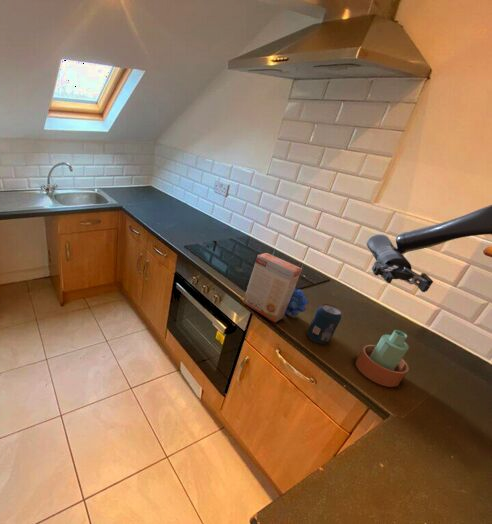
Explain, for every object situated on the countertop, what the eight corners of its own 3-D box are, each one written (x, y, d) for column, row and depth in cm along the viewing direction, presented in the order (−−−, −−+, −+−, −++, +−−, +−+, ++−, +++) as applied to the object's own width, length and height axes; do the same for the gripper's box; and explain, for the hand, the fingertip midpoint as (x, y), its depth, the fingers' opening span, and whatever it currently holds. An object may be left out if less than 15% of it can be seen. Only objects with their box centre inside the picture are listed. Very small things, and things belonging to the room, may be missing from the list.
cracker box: (283, 318, 109) (303, 268, 99) (274, 323, 106) (294, 272, 96) (251, 298, 119) (267, 251, 109) (241, 302, 115) (257, 254, 106)
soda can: (314, 329, 105) (327, 300, 100) (333, 341, 100) (348, 312, 95) (301, 334, 102) (314, 305, 96) (320, 347, 97) (335, 317, 91)
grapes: (271, 318, 108) (282, 290, 103) (268, 307, 114) (278, 280, 109) (305, 324, 107) (317, 296, 102) (299, 313, 113) (311, 286, 108)
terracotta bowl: (373, 356, 96) (381, 343, 93) (408, 383, 86) (418, 370, 84) (347, 360, 93) (354, 347, 90) (380, 389, 83) (390, 375, 81)
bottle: (375, 361, 93) (397, 325, 86) (394, 376, 88) (420, 340, 81) (360, 363, 91) (382, 327, 85) (379, 379, 86) (404, 342, 79)
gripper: (373, 248, 101) (385, 266, 88) (424, 259, 97) (445, 281, 83) (363, 267, 105) (373, 288, 91) (412, 279, 100) (430, 303, 87)
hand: (407, 284), depth 87 cm, fingers open, 8 cm apart
